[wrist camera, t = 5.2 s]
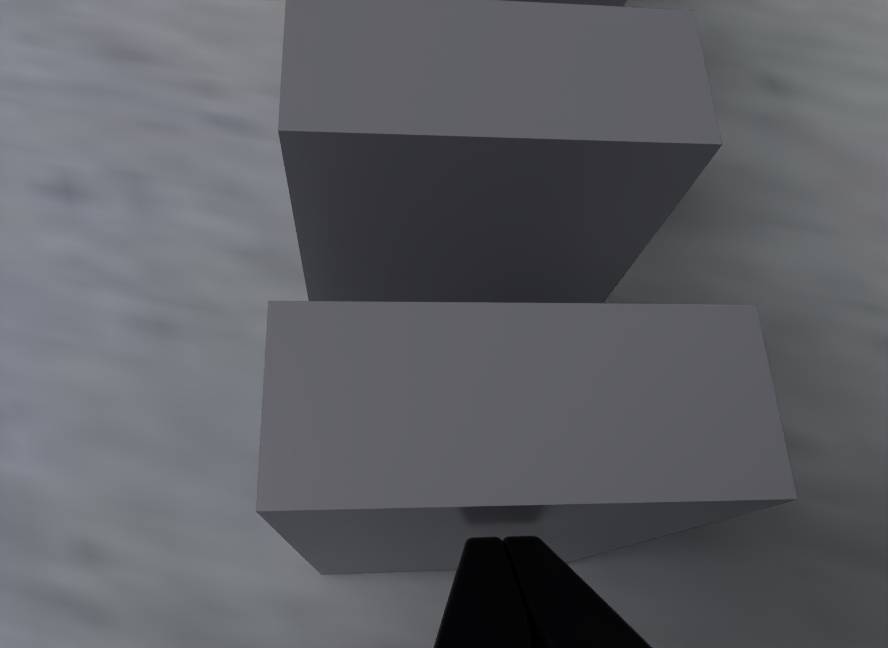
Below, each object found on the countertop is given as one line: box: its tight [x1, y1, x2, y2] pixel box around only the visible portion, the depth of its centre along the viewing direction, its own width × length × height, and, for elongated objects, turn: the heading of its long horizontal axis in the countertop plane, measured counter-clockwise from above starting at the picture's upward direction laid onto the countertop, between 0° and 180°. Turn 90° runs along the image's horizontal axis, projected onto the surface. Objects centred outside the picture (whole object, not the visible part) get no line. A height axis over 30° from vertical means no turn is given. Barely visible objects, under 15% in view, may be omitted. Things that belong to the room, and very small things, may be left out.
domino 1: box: [278, 0, 722, 303], centre depth 13 cm, size 2×5×10 cm, turn 92°
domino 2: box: [256, 301, 797, 575], centre depth 12 cm, size 2×5×10 cm, turn 93°
